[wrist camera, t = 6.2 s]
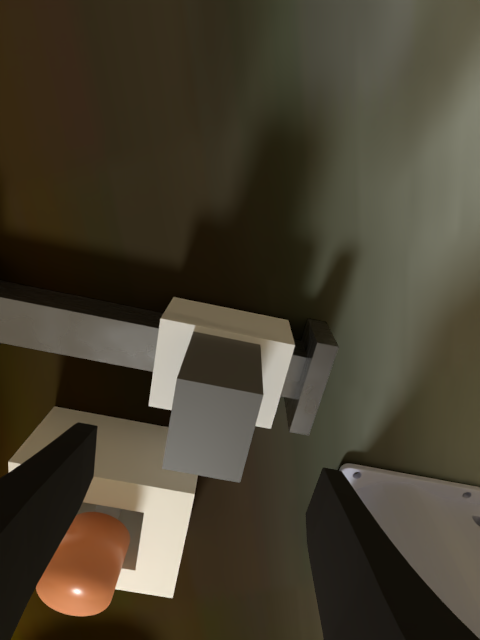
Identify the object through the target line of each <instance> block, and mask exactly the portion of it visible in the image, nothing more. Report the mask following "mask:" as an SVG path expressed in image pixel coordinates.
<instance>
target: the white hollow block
mask: <svg viewBox="0 0 480 640" xmlns="http://www.w3.org/2000/svg"><path fill="white" fill-rule="evenodd" d="M78 422H79V423H85V424H90V425H96V426H98V428H97V440H96V453H95V466H94V477H93V479H92V481H91V484H90V486H89V489H88V491H87V493H86V496H85V498H84V500H83V503H82V505H81V507H80V509H79V511H78V513H77V515H78V514H80V513H84V512H94V510H95V508H96V506H97V505H102V506H108V507H114V508H119V509H122V511H121V514H120V516H119V519H118V520H119V521H120V522H122V523H123V524H124V526H125V527H126V528H127V530H128V532H129V534H130V544H129V547H128V550H127V553H126V556H125V559H124V562H123V565H122V569H121V572H120V575H119V578H118V581H117V584H116V587H115V589H118V590H124V591H130V592H137V593H143V594H149V595H156V596H162V597H168V598H173V594H174V589H175V584H176V580H177V575H178V570H179V566H180V561H181V556H182V552H183V547H184V542H185V538H186V533H187V528H188V524H189V519H190V514H191V510H192V505H193V500H194V496H195V490H196V484H197V478H198V475H194V474H188V473H183V472H177V471H172V470H166V469H162V465H163V459H164V453H165V447H166V441H167V435H168V429H169V427H164V426H159V425H154V424H148V423H143V422H137V421H132V420H126V419H121V418H115V417H110V416H105V415H99V414H94V413H88V412H83V411H77V410H72V409H66V408H61V407H55V406H54V408H53V409H52V410H51V411H50V412H49V414H48V415H47V416H46V417H45V418H44V420H43V421H42V422H41V423H40V424H39V426H38V427H37V428H36V429H35V430H34V432H33V433H32V434H31V435H30V436H29V438H28V439H27V440H26V441H25V442H24V443H23V445H22V446H21V447H20V448H19V449H18V451H17V452H16V453H15V454H14V455H13V457H12V458H11V459H10V460H9V461H8V467H9V472H10V471H12V470H13V469H15V468H16V467H18V466H19V465H21V464H22V463H23V462H25V461H26V460H28V459H29V458H30V457H32V456H33V455H35V454H36V453H37V452H39V451H40V450H41V449H43V448H44V447H45V446H47V445H48V444H49V443H51V442H52V441H53V440H55V439H56V438H57V437H59V436H60V435H61V434H63V433H64V432H65V431H66V430H68V429H69V428H70V427H72V426H73V425H74V424H76V423H78Z"/></svg>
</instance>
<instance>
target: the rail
mask: <svg viewBox="0 0 480 640" xmlns="http://www.w3.org/2000/svg"><path fill="white" fill-rule="evenodd" d="M162 315H163V313H161V312H156V311H151V310H146V309H141V308H136V307H131V306H126V305H121V304H116V303H111V302H106V301H101V300H96V299H91V298H86V297H81V296H76V295H71V294H66V293H61V292H56V291H51V290H46V289H41V288H36V287H31V286H26V285H21V284H16V283H11V282H6V281H1V280H0V344H1V343H5V344H10V345H15V346H20V347H26V348H31V349H36V350H41V351H47V352H52V353H57V354H62V355H67V356H73V357H78V358H83V359H88V360H94V361H99V362H104V363H109V364H115V365H120V366H125V367H130V368H136V369H141V370H146V371H151V372H153V369H154V361H155V354H156V347H157V339H158V332H159V325H160V318H161V317H162ZM294 343H295V347H294V351H293V354H292V358H291V361H290V364H289V368H288V371H287V375H286V378H285V382H284V385H283V389H282V392H281V395H280V396H282V397H284V400H285V407H286V413H287V420H288V427H289V432H293V433H298V434H304V435H309V433H310V430H311V428H312V425H313V422H314V419H315V416H316V413H317V410H318V407H319V404H320V401H321V398H322V395H323V392H324V389H325V386H326V383H327V380H328V377H329V375H330V372H331V369H332V366H333V363H334V360H335V357H336V354H337V351H338V348H339V346H338V344H337V342H336V340H335V339H334V337H333V335H332V333H331V331H330V329H329V327H328V325H327V323H326V322H323V321H318V320H313V319H307V322H306V325H305V329H304V332H303V336H302V339H301V340H296V339H294Z"/></svg>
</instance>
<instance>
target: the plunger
mask: <svg viewBox="0 0 480 640" xmlns="http://www.w3.org/2000/svg"><path fill="white" fill-rule="evenodd" d="M121 511H122V509H119V508H114V507H108V506H102V505H97V506H96V508H95V510H94V512H84V513H80V514H78V515H76V517H75V518H74V520H73V522H72V524H71V525H70V527H69V529H68V531H67V533H66V534H65V536H64V538H63V540H62V541H61V543H60V545H59V547H58V548H57V550H56V552H55V554H54V556H53V557H52V559H51V561H50V563H49V564H48V566H47V568H46V570H45V571H44V573H43V575H42V577H41V578H40V580H39V582H38V584H37V586H36V590H37V593H38V595H39V597H40V598H41V600H42V601H43V602H44V603H45V604H46V605H48V606H49V607H51V608H52V609H54V610H56V611H58V612H61V613H64V614H67V615H72V616H90V615H95V614H98V613H100V612H102V611H103V610H105V609H106V608H107V607H108V606H109V604H110V602H111V599H112V596H113V593H114V590H115V587H116V584H117V581H118V578H119V575H120V572H121V569H122V565H123V562H124V559H125V556H126V553H127V550H128V547H129V544H130V534H129V532H128V530H127V528H126V527H125V526H124V524H123V523H122V522H120V521H119V520H118V519H119V516H120V514H121Z"/></svg>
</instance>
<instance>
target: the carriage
mask: <svg viewBox="0 0 480 640" xmlns="http://www.w3.org/2000/svg"><path fill="white" fill-rule="evenodd" d="M294 347H295V343H294V339H293V335H292V332H291V328H290V324H289V320H285V319H280V318H275V317H271V316H266V315H261V314H256V313H251V312H246V311H241V310H236V309H231V308H226V307H221V306H216V305H211V304H206V303H201V302H196V301H191V300H186V299H182V298H177V297H173V299H172V300H171V302H170V304H169V305H168V307H167V308H166V310H165V312H164V313H163V315H162V317H161V318H160V325H159V332H158V339H157V347H156V354H155V361H154V369H153V376H152V384H151V391H150V398H149V406H151V407H156V408H162V409H167V410H171V417H170V423H169V429H168V435H167V441H166V447H165V453H164V459H163V465H162V469H166V470H172V471H177V472H183V473H188V474H194V475H200V476H205V477H211V478H217V479H222V480H228V481H234V482H239V483H240V480H241V477H242V473H243V469H244V466H245V462H246V458H247V454H248V451H249V447H250V443H251V440H252V436H253V432H254V428H255V426H258V427H264V428H269V429H271V427H272V423H273V420H274V416H275V413H276V409H277V406H278V402H279V399H280V395H281V392H282V389H283V385H284V382H285V378H286V375H287V371H288V368H289V364H290V361H291V358H292V354H293V351H294Z"/></svg>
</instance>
